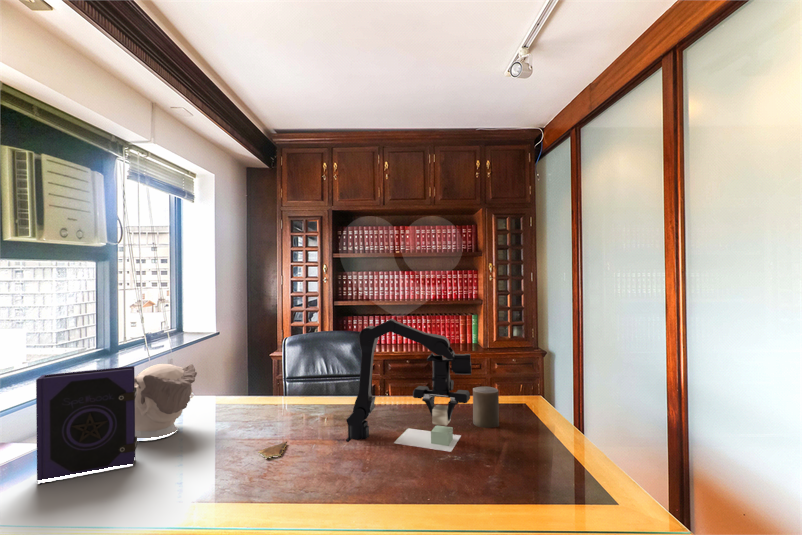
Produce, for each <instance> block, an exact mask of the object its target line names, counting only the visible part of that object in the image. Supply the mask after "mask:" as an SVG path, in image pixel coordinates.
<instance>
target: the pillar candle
mask: <svg viewBox="0 0 802 535" xmlns="http://www.w3.org/2000/svg"><path fill="white" fill-rule="evenodd" d="M499 394H500V393H499V389H498V388H496V387H493V386H492V387H491V386H476V387H473V388H472V423H473V425H474V426H476V427H477V428H478V427H479V428H482V429H483V428H485V429H489V428H490V429H491V428H492V429H493V428H495V427H500V408H499V407H500V404H499V403H500V401H499V397H500V396H499Z"/></svg>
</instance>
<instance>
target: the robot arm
mask: <svg viewBox="0 0 802 535" xmlns="http://www.w3.org/2000/svg"><path fill="white" fill-rule="evenodd" d="M389 333H393V334H395V335H397V336H401V337H403V338H405V339H408V340H410V341H413V342H414V343H415V342H416V343H418V344H420V345H422V346H424V347H425V348H426V349H428V350H429V351H430V352H431V353H430V355H428V357H427V358H426V361H428V362H432V377H431V382H432V389H430V388H429V386H426V385H425V386H423V385H417V387H416V388H414V390H413V391H412V398H414V399H421V401H422V402H424V403H425V406H426V407H427V408H428V410H429V412H430V415H431V416H432V409H433V408H434V407H435V406H436V405H435V398H436V397H438V398H449V399H450V400H449V401H448V402H447V406H448V421H450V419H451V418H452V415H453V411H454V408H455V406H456V405H458V404H467V403H468V402H469V401H470V399H471V393H470V392H469V390H465V389H464V390H463V389H458V390H456V392H453V390H454V384H455V383H454V382H455V381H454V380H453V379H451V375H450V371H451V372H452V373H454V375H464V376H465V375H467V376H468V375H470V376H472V362H471V355H472V354H471V353H465V354H462V353H461V354H459V353H456V352H455V350H454V349H452V347H451V346H450V345H451V344H450V340H449V338H448V337H447V336H445V335H440V334H436V333H429V332H425V331H422V330H419V329H417V328H415V327H412V326H409V325H407V324H404V323H402V322H399V321H397V320H395V319H394V318H390V319H388V320H386V321H384V322H382V323H380V324H377V325H376V326H373V325H367V327H364V328H363V329H361V330H360V332H359V335H358V340H359V348H360V351H361V356H360V357H361V360H360V371H359V382H358V384H359V385H358V393H357V396H356V398H355V402H354V406H353V408H352V412H351V414H350V415H349V416H348V417H347V418H346V423H347V438H346V439H345V441H346V442H350V441H351V440H356V441H359V440H367V439H369V437H370V426H369V425H368V422H369V421H368V420H367V419H368V418H369V416H370V414H372V413H373V410H374V409H375V408H376V405H375V404H376V403H375V401H376V398H377V397H376V396H375V395H372V380H373V379H372V378H373V368H374V367H373V366H374V357H375V356H374V355H375V351H376V349H377V344H378V341H379V338H380V337H381V336H384V335H386V334H389ZM450 363H451V365H450ZM450 369H451V370H450ZM451 420H452V419H451ZM450 422H451V421H450Z"/></svg>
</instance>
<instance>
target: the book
mask: <svg viewBox="0 0 802 535" xmlns="http://www.w3.org/2000/svg"><path fill="white" fill-rule="evenodd" d="M135 377H136V376H135V365H131V366H120V367H119V366H118V367H110V368H99V369H89V370H88V369H87V370H77V371H72V372H71V371H69V372H60V373H49V374H41V375H40V376H39V377H37V378H36V379H35V393H36V397H35V398H36V399H35V400H36V401H35V402H36V404H35V405H36V407H35V408H36V481H37V480H42V479H48V478H54V477H60V476H65V475H70V474H76V473H82V472H87V471H92V470H99V469H104V468H108V467H113V466H120V465H127V464H133V463H134V464H135V461H134V457H135V458H136V451H137V450H136V448H137V446H138V441H137V436H136V437H135V398H136V395H137V387H135Z"/></svg>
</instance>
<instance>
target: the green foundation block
mask: <svg viewBox="0 0 802 535" xmlns="http://www.w3.org/2000/svg"><path fill="white" fill-rule="evenodd" d="M453 428H454V427H452V426H445V425H437V424H435V426H433V428H432V429H431V443H432V444H439V445H446V446H449V444H450V443H451V441H452V440H453V434H454V429H453Z"/></svg>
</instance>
